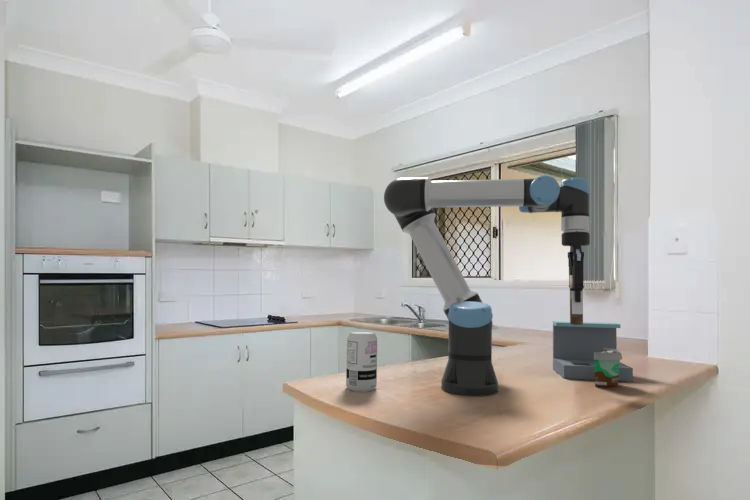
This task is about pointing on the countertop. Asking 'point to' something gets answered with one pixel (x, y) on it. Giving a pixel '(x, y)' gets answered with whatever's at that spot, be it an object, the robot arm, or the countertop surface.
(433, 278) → the robot arm
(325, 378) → the countertop surface
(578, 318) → the peg
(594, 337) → the socket
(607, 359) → the food container
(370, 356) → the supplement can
